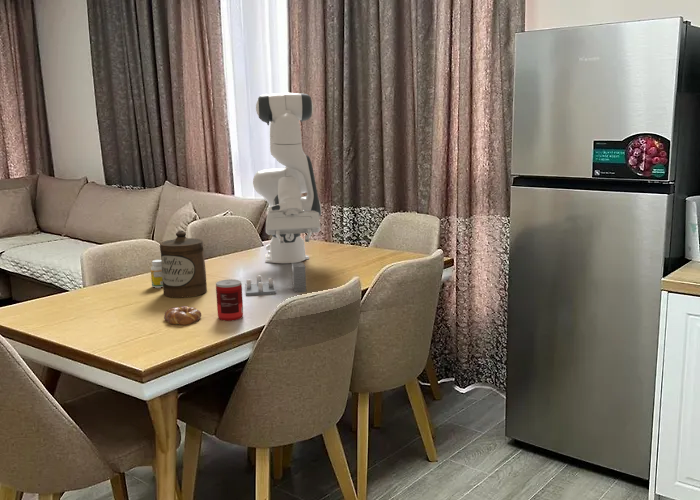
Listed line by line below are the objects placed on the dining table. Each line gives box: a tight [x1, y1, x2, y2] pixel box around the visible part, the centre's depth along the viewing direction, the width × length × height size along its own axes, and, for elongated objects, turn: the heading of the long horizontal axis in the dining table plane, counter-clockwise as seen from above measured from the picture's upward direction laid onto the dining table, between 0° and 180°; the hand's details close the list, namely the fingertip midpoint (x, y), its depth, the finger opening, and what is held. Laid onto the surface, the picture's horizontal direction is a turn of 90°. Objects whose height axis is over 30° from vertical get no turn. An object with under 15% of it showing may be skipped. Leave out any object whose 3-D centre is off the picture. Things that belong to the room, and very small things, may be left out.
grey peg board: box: [244, 275, 277, 297], centre depth 239 cm, size 13×10×4 cm
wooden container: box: [159, 230, 208, 299], centre depth 237 cm, size 15×15×22 cm
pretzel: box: [163, 305, 202, 326], centre depth 206 cm, size 12×11×4 cm
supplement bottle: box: [150, 259, 163, 289], centre depth 248 cm, size 5×5×10 cm
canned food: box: [215, 278, 244, 322], centre depth 206 cm, size 8×8×11 cm
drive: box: [291, 261, 307, 293], centre depth 239 cm, size 7×4×9 cm, turn 10°
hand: (294, 241), depth 248 cm, fingers open, 8 cm apart
